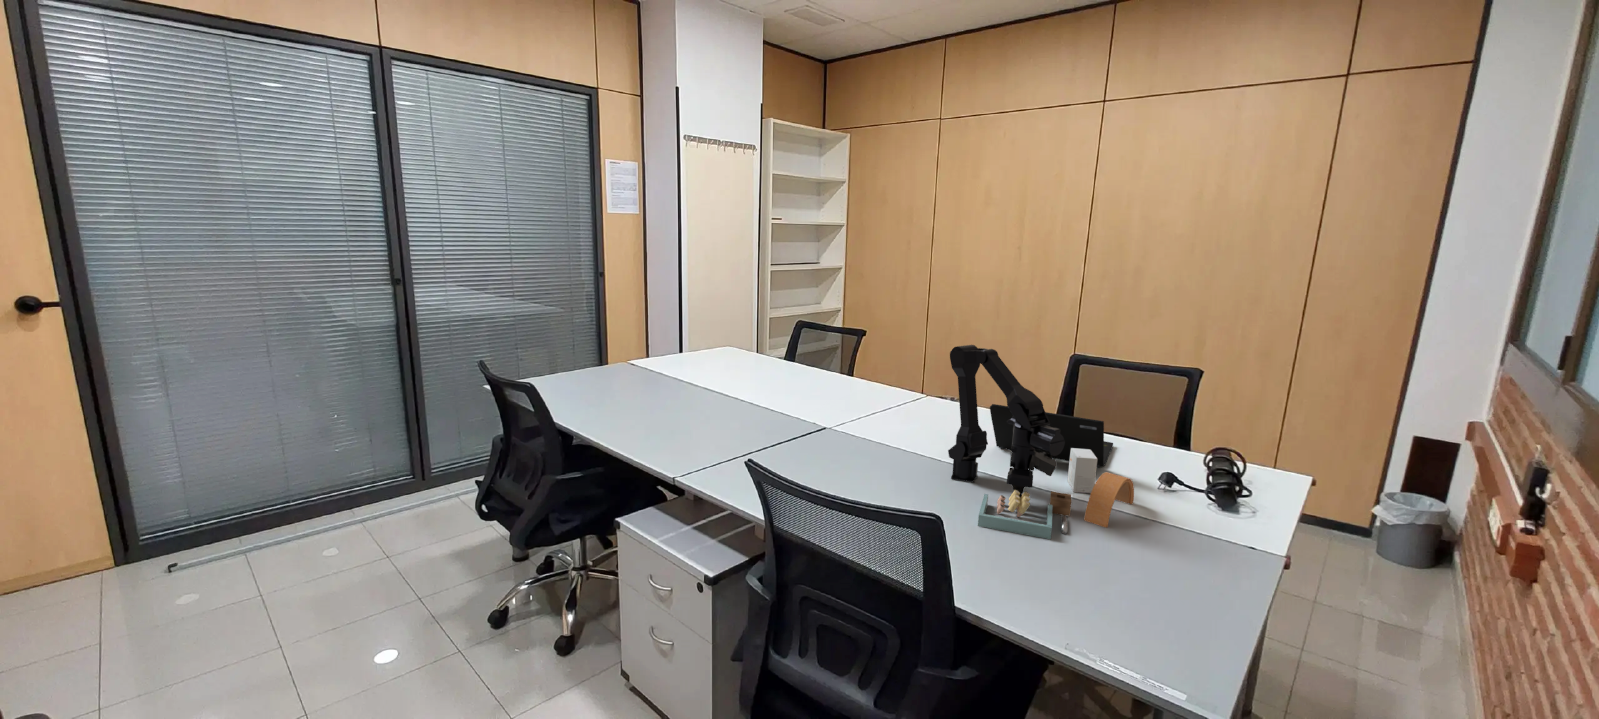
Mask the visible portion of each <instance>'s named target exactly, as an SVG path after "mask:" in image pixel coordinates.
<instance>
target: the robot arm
mask: <svg viewBox="0 0 1599 719" xmlns="http://www.w3.org/2000/svg"><path fill="white" fill-rule="evenodd" d="M949 361H950V366H951V369H952V371H953V372H954V374H955V375H956V377H957V386H958V399H959V400H958V403H959V417H960V427H959V429H958V431H957V434H956V436H955V444H954V445H952V447H950V448H949V449H948V450H947V453H948V457H949V458H950V459H951V460H953V462H952V463H953V464H952V474H951V478H950V479H952V480H957V481H963V482H969V483H974V481H975V479H977V477H978V468H979V462H977V459H978V458H981V457H982V456H983V454H984V452H985V451H986V450H987V445H989V443H988V439H987V438H988V433H987V431H986V430H983V429H982V428H981V426H980V425H979V414H978V413H979V412H978V411H979V410H978V399H977V398H978V395H977V382H976V381H977V380H976V375H977V373H978V370H980V366H981V365H982V366H983V368H984V369H985V370H986V372H987V373H988V374H989V376H990V378H991V379H992V380H993V381H994V382H995V384H996V385H997V386H998V387H999V389H1000V391H1001V392H1002V393H1003V394H1004V396H1005V397H1006V406H1008V408H1009V409H1010V411H1011V413H1012V415H1013V417H1012V418H1011V419H1009V420H1008V421H1007V423H1009V424H1012V425H1014V429H1013V441H1012V448H1011V450H1010V452H1011V454H1010V458H1009V461H1010V462H1009V471H1008V472H1007V477H1006V484H1008V485H1009V486H1011V487H1012V490H1013V491H1014V490H1017V491H1019V492H1020V494H1019V497H1021V496H1022V494H1023V493H1024V490H1025V488H1029V489H1030V488H1033V482H1034V471H1035V469H1036V470H1038V471H1040V472H1042V473H1043V474H1045V475H1046V476H1049V477H1051V476H1052V475H1053V473H1054V472H1055V469H1056V468H1057V466H1058V464H1057V460H1056V458H1052V455H1053V456H1057V455H1059V454H1060V453H1061V451H1062V450H1063V448H1064V444H1065V441H1064V438H1063V436H1062V435H1061V434H1060V429H1058V428H1053V427H1050V426H1047V425H1050V421H1049V419H1048V417H1047V415H1046V412H1047V411H1045V408H1044V403H1043V401H1042V400H1041V398H1040V397H1039V396H1038V395H1036V394H1035V393H1034V392H1033V391H1032V390H1030V389H1028V388H1026V387H1025V386H1023V385H1022V384H1021V383H1020V382H1019V381H1018V379H1017V378H1016V377H1015V375H1014V374H1013V373H1012V372H1011V370H1010V369H1009V367H1008V366H1007V365H1006V364H1005V362H1004V361H1003V360H1002V359H1001V358H1000V356H999V354H998V351H997V350H996V349H993V348H983V347H982V348H981V347H977V346H976V345H974V344H967V345H958V346H954V347H953V348H952V349H951V351H950V352H949ZM1032 418H1038V419H1037V420H1033V421H1029V420H1028V419H1032ZM1036 449H1037V450H1040V451H1042V452H1043V453H1041V452H1040V453H1038V452H1036Z"/></svg>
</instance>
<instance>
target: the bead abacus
mask: <svg viewBox="0 0 1599 719" xmlns="http://www.w3.org/2000/svg"><path fill="white" fill-rule="evenodd" d="M1019 494H1020V492H1019V491H1017V490H1013V492H1012V493H1011V495H1010V496H1009V498H1008V501H1009V502H1008V504H1007V505H1008V508H1007V510H1008V511H1009V512H1011V513H1014V512H1016V517H1017V518H1020V517H1022V516H1023V515H1024V514H1025V513H1026V511H1027V509H1028V508H1029V507H1030V505H1031V503H1030V500H1031V498H1030V496H1031V494H1030V493H1029V491H1024V490H1023V493H1022V496H1021V497H1019ZM1006 499H1007V498H1006V497H1005V496H1004V495H1002V494H1001V495H999V498H998V499H997V502H996V503H997V504H996V509H997V510H996V514H997V515H1000V514H1001V513H1003V512H1004V510H1005V509H1006V506H1005V505H1006V501H1005V500H1006Z"/></svg>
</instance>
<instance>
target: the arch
mask: <svg viewBox="0 0 1599 719" xmlns="http://www.w3.org/2000/svg"><path fill="white" fill-rule="evenodd" d="M1089 494H1090V495H1089V498H1088V500H1087V504H1086V508H1085V513H1084V518H1083V520H1084V521H1085V522H1088V523H1090V524H1095V525H1098V526H1099V527H1102V528H1106V529H1107V528H1108V527H1109V522H1110V521H1109V520H1110V516H1111V512H1112V509H1113V505H1114V503H1115V501H1119V502H1121V501H1122V502H1121V503H1124V502H1125V504H1128V503H1130V504H1129V505H1133V504H1134V499H1135V486H1134V482H1133V480H1132V478H1128V477H1126V476H1122V475H1118V474H1115V473H1112V472H1106V471H1105V472H1103V473H1101V475H1100V476H1099V477H1098V478H1097V480H1095V485H1094V487H1093V489H1092V492H1091V493H1089ZM1132 503H1133V504H1132Z"/></svg>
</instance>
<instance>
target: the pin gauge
mask: <svg viewBox="0 0 1599 719" xmlns="http://www.w3.org/2000/svg"><path fill="white" fill-rule="evenodd" d="M1060 532H1061V534H1062V535H1066V534H1068V516H1065V515H1060Z"/></svg>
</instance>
